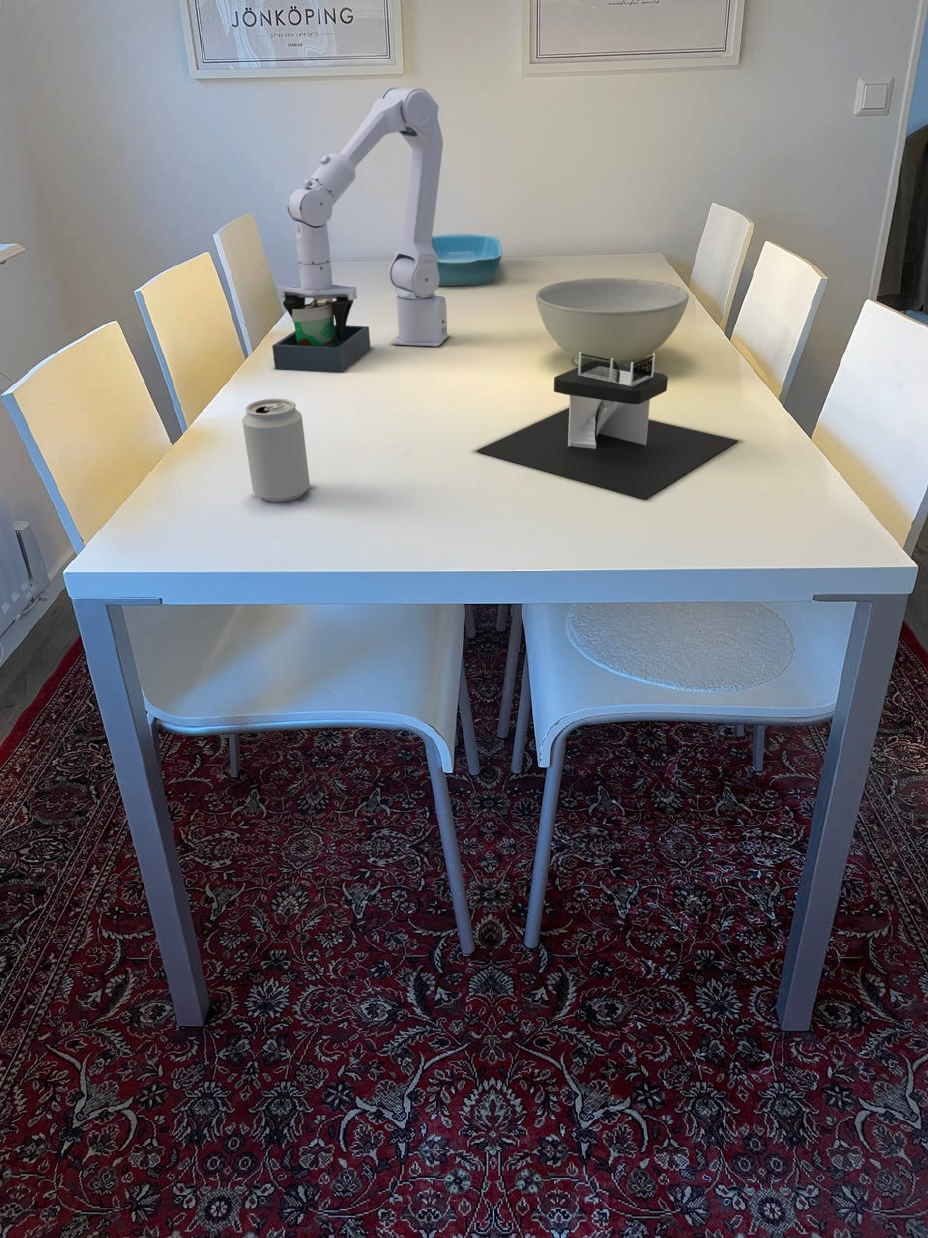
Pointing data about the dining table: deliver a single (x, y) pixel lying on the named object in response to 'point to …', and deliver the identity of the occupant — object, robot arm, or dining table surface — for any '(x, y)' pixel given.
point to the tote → (322, 352)
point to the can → (276, 450)
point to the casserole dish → (466, 258)
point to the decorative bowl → (611, 316)
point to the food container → (315, 323)
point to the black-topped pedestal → (610, 432)
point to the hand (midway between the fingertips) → (321, 337)
